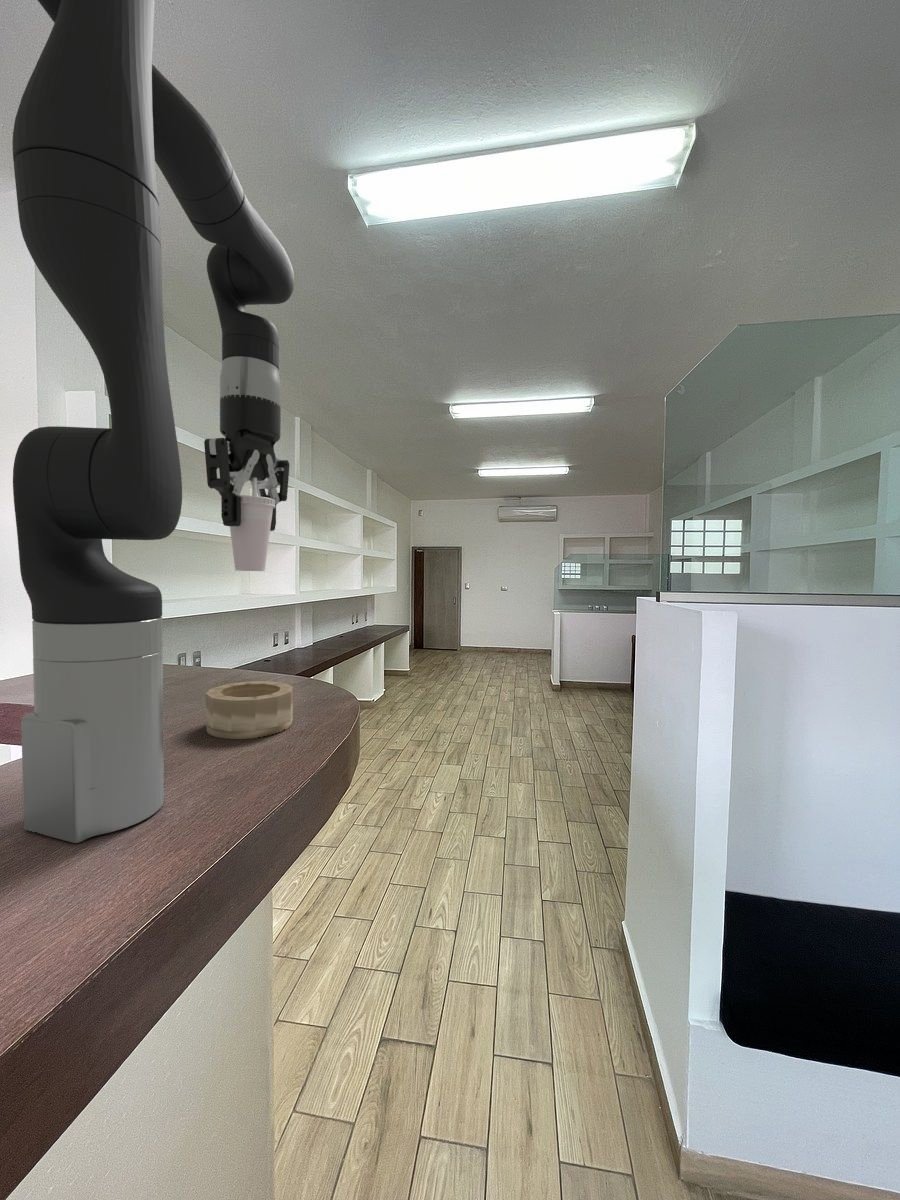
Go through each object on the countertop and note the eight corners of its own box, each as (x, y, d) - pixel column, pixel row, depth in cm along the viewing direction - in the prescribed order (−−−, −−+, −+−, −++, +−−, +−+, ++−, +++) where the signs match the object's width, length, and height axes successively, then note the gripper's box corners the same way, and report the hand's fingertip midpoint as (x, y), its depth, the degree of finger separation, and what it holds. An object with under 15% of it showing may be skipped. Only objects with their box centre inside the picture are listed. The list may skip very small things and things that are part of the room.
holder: (257, 743, 63) (257, 704, 63) (187, 732, 67) (187, 695, 66) (308, 719, 74) (308, 685, 73) (245, 711, 77) (245, 678, 77)
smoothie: (264, 571, 66) (265, 461, 65) (215, 570, 66) (215, 460, 65) (281, 571, 72) (282, 471, 71) (236, 570, 72) (237, 470, 71)
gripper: (235, 379, 60) (235, 523, 61) (306, 416, 73) (305, 533, 74) (184, 385, 62) (185, 523, 63) (262, 419, 76) (262, 532, 77)
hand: (250, 528), depth 69 cm, fingers closed on smoothie, 6 cm apart
